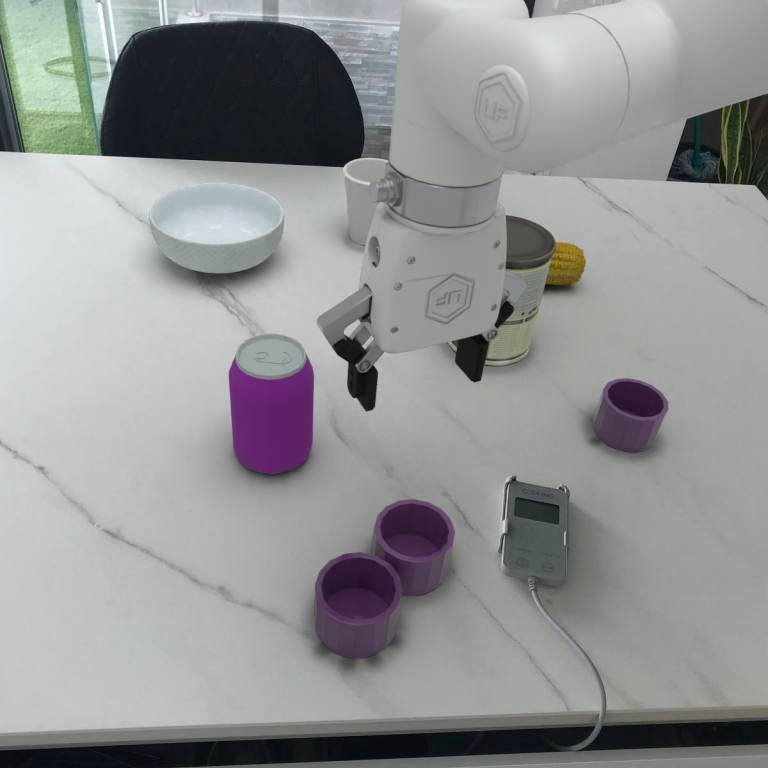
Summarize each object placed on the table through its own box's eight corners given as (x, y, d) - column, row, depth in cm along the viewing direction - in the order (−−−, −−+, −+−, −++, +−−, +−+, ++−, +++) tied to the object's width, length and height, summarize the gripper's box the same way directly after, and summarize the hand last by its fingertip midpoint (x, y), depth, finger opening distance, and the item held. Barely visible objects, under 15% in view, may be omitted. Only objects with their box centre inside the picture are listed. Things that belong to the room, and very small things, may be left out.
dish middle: (455, 590, 65) (463, 557, 62) (378, 599, 64) (382, 565, 61) (437, 529, 70) (443, 496, 67) (365, 537, 69) (368, 503, 66)
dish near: (404, 652, 60) (410, 619, 57) (319, 663, 59) (321, 630, 56) (388, 582, 65) (392, 548, 62) (309, 591, 64) (310, 557, 61)
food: (572, 273, 107) (582, 234, 103) (581, 295, 103) (592, 256, 99) (421, 265, 105) (426, 226, 102) (424, 288, 101) (429, 248, 97)
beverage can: (228, 478, 73) (221, 379, 65) (238, 422, 79) (232, 326, 71) (310, 481, 73) (312, 383, 66) (314, 426, 79) (316, 330, 72)
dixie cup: (365, 256, 106) (370, 189, 100) (328, 231, 111) (330, 165, 104) (410, 240, 111) (417, 174, 104) (372, 217, 115) (377, 152, 109)
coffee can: (440, 358, 90) (457, 251, 81) (450, 310, 98) (466, 208, 89) (529, 373, 89) (556, 267, 80) (532, 323, 97) (556, 221, 88)
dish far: (666, 449, 81) (679, 417, 78) (607, 454, 79) (619, 422, 76) (638, 407, 86) (650, 376, 83) (583, 412, 84) (593, 380, 81)
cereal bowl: (197, 308, 94) (193, 257, 89) (131, 250, 103) (124, 201, 98) (309, 266, 103) (310, 218, 99) (239, 217, 112) (237, 171, 108)
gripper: (347, 235, 46) (336, 443, 57) (579, 195, 53) (530, 388, 63) (300, 182, 51) (299, 382, 62) (517, 152, 58) (482, 338, 68)
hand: (416, 385), depth 63 cm, fingers open, 9 cm apart
